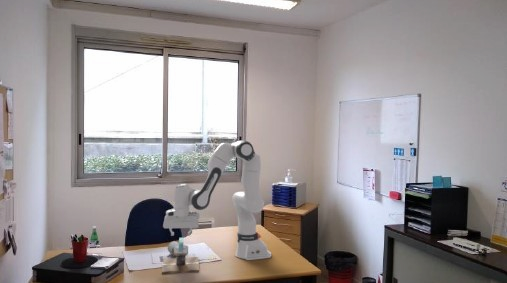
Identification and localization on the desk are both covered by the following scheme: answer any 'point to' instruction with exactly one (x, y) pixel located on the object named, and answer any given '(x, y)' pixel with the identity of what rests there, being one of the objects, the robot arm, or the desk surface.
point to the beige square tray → (180, 265)
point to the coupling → (181, 248)
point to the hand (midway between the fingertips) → (180, 235)
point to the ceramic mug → (172, 247)
